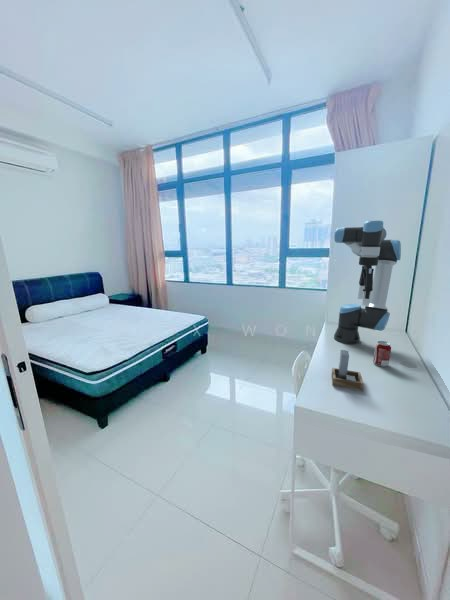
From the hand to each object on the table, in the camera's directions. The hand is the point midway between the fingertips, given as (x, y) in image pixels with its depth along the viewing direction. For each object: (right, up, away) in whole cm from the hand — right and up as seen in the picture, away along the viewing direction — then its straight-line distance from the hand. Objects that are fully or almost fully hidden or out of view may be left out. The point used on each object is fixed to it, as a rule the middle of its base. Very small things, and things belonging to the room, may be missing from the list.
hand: (363, 302), depth 116 cm
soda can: (+16, -33, +12) cm, 39 cm away
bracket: (-10, -36, -4) cm, 38 cm away
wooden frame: (-10, -37, -4) cm, 38 cm away
